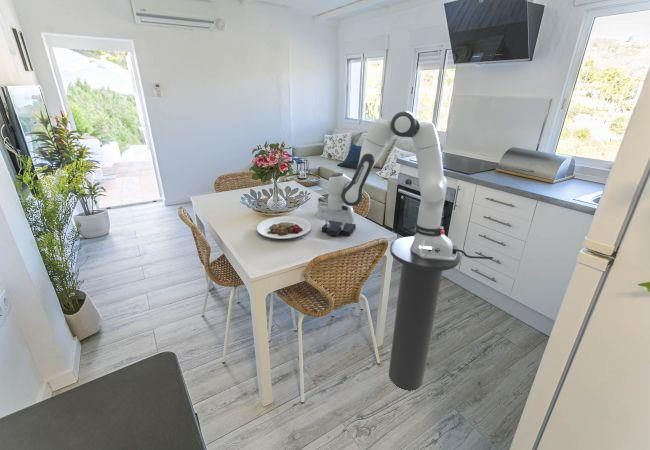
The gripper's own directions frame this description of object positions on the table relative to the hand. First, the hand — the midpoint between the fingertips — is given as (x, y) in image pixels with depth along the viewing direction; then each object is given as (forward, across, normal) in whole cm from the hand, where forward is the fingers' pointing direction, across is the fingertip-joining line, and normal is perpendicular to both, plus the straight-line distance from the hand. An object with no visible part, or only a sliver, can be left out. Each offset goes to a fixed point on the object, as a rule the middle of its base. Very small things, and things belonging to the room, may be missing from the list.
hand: (335, 228), depth 170 cm
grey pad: (+2, 0, 0) cm, 2 cm away
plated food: (+3, -28, -6) cm, 29 cm away
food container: (+3, -15, +27) cm, 31 cm away
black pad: (+3, 0, +6) cm, 7 cm away
